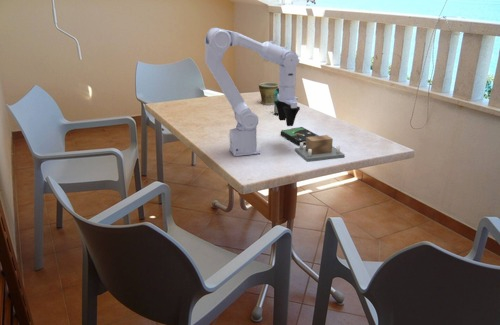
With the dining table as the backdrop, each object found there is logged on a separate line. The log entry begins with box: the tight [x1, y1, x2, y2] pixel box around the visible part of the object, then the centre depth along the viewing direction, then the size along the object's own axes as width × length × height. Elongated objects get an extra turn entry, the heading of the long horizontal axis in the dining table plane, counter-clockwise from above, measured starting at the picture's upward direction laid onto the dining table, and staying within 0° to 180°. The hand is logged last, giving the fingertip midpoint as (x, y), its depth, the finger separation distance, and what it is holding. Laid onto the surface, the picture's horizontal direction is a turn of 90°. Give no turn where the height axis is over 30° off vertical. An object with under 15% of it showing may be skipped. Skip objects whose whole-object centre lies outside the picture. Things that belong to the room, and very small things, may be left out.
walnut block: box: [305, 134, 334, 155], centre depth 145 cm, size 8×4×5 cm, turn 107°
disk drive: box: [280, 126, 320, 147], centre depth 162 cm, size 10×3×15 cm
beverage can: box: [273, 87, 279, 116], centre depth 194 cm, size 7×7×12 cm
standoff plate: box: [294, 142, 346, 162], centre depth 146 cm, size 14×11×4 cm
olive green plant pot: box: [258, 82, 279, 106], centre depth 215 cm, size 13×10×10 cm
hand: (286, 122), depth 150 cm, fingers open, 7 cm apart
